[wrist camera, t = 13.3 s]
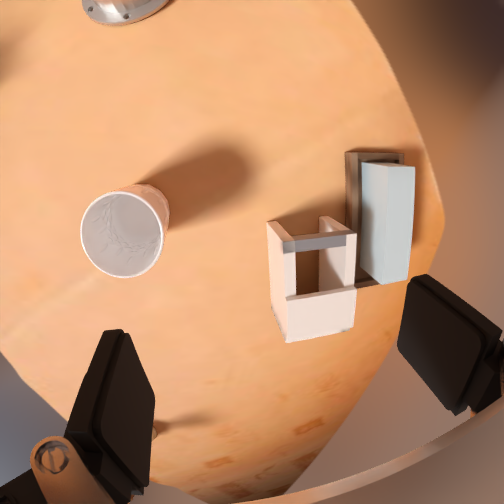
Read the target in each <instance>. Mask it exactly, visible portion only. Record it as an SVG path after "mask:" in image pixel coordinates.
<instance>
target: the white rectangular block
mask: <svg viewBox="0 0 504 504" xmlns="http://www.w3.org/2000/svg"><path fill="white" fill-rule="evenodd" d="M414 196H415V167H413V166H407V165H401V164H395V163H389V162H362V225H361V250H360V267H361V268H362V269H363V270H365V271H366V272H367V273H368V274H369V275H370V276H372V277H373V278H374V279H375V280H376V281H378V282H379V283H380V284H381V285H383V284H388V283H393V282H398V281H402V280H407V275H408V268H409V260H410V251H411V241H412V230H413V216H414Z"/></svg>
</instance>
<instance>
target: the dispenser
mask: <svg viewBox="0 0 504 504" xmlns="http://www.w3.org/2000/svg"><path fill="white" fill-rule="evenodd" d="M267 237H268V254H269V271H270V289H271V308H272V311H273V313H274V316H275V318H276V321H277V323H278V325H279V328H280V330H281V333H282V335H283V337H284V340H285V342H286V343H290V342H295V341H301V340H306V339H311V338H316V337H321V336H326V335H331V334H335V333H340V332H344V331H349V330H350V328H351V327H353V323H354V314H355V305H356V294H357V289H356V288H355V287H354V276H355V260H356V240H357V233H355V232H353V231H352V230H350V229H349V228H347V227H345V226H344V225H342V224H341V223H339V222H337V221H336V220H334V219H332V218H331V217H329V216H320V217H319V233H315V234H306V235H297V236H290V235H289V234H288V233H287V232H286V231H285V230H284V228H283V227H282V226H281V225H280V224H279V223H278V222H277V221H270V222H267ZM318 249H319V292H316V293H310V294H303V295H297V296H296V262H295V252H302V251H310V250H318Z"/></svg>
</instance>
